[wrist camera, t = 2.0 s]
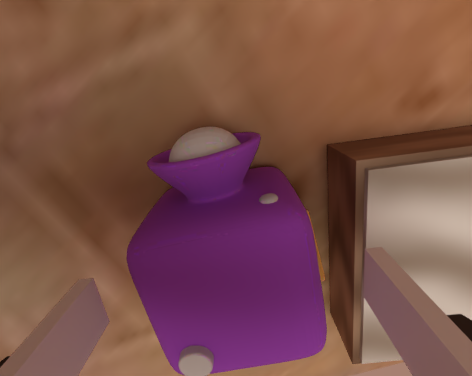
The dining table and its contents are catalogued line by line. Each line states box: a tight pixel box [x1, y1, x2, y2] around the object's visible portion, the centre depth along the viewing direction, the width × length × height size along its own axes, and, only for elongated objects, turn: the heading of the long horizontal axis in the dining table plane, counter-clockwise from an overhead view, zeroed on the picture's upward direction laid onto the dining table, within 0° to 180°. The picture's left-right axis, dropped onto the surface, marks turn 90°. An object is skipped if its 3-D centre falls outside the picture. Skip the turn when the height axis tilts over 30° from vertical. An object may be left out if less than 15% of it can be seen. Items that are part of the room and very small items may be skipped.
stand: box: [327, 125, 472, 364], centre depth 19 cm, size 16×16×5 cm
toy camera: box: [127, 127, 327, 376], centre depth 16 cm, size 11×14×10 cm
